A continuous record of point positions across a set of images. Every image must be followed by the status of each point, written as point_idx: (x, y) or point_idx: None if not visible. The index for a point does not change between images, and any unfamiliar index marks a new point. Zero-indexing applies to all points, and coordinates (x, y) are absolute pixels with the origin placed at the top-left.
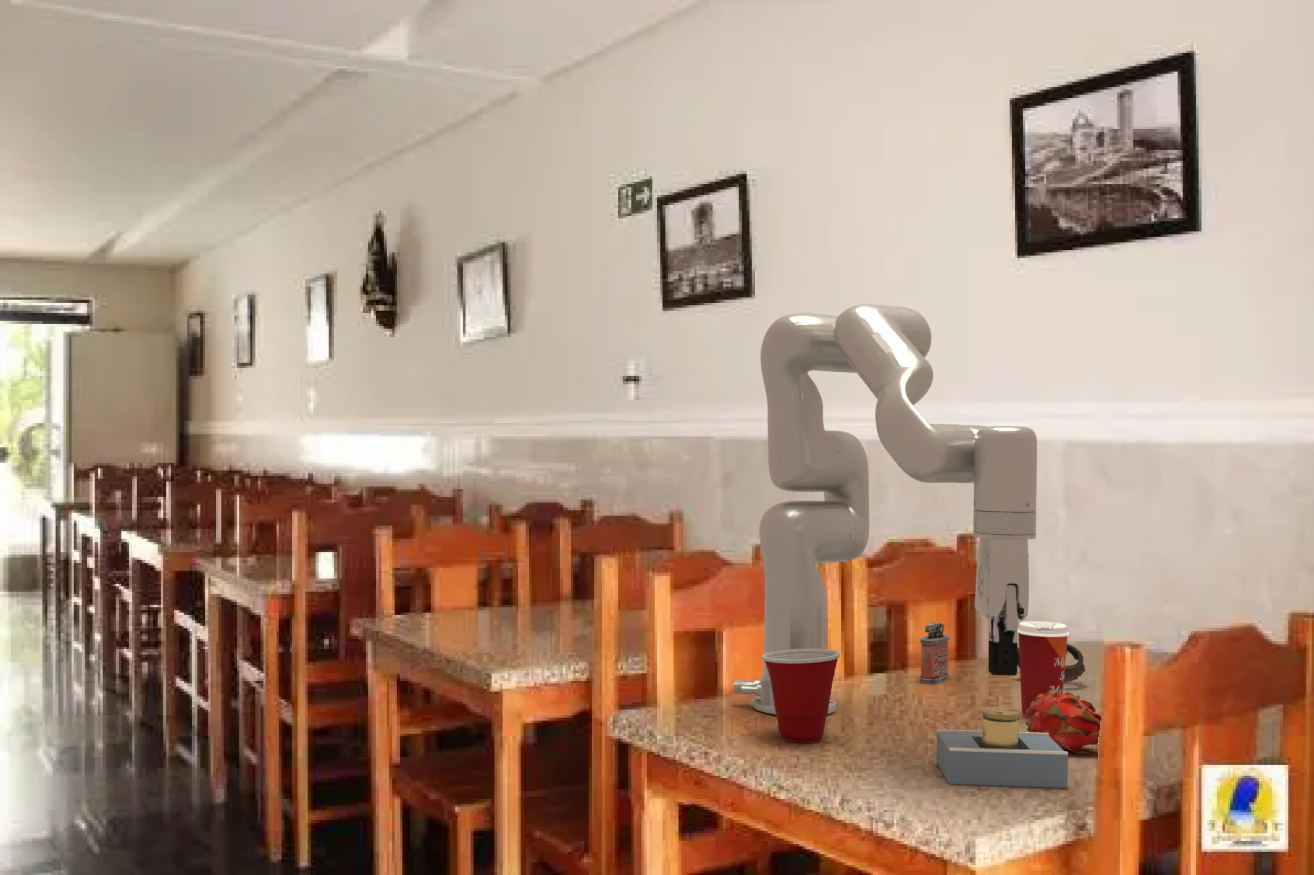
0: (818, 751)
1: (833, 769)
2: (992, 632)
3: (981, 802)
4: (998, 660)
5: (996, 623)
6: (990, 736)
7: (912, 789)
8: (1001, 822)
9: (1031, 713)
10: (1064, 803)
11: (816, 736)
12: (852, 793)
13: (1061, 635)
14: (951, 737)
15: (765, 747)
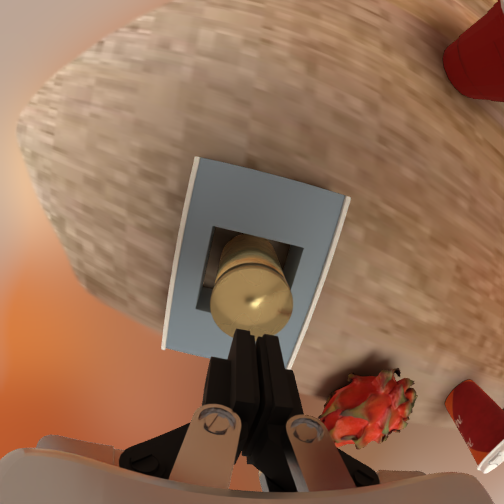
0: (407, 53)
1: (309, 24)
2: (288, 445)
3: (111, 173)
4: (211, 369)
5: (169, 479)
6: (229, 258)
7: (183, 93)
8: (42, 171)
9: (397, 385)
10: (107, 283)
11: (450, 73)
12: (178, 14)
13: (479, 466)
14: (300, 204)
15: (421, 9)
